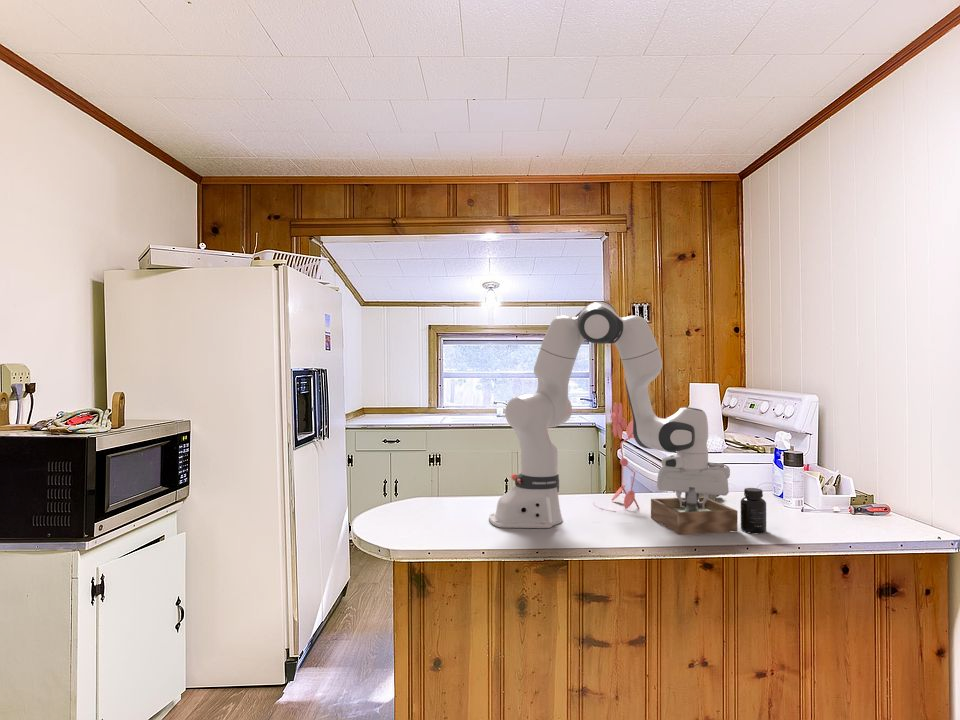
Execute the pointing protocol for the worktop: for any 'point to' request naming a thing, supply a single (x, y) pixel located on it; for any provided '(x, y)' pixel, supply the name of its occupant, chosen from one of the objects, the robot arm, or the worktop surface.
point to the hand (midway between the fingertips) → (692, 507)
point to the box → (694, 516)
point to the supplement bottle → (753, 511)
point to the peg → (691, 500)
